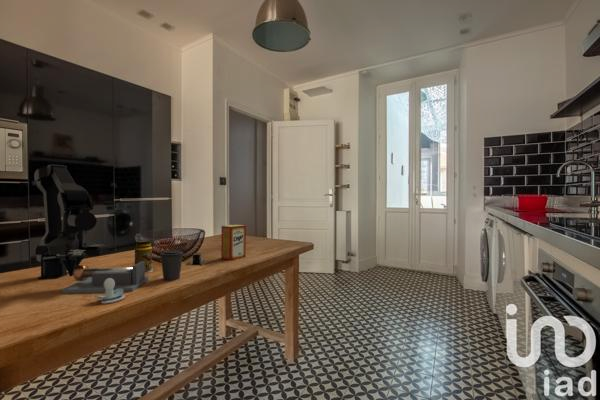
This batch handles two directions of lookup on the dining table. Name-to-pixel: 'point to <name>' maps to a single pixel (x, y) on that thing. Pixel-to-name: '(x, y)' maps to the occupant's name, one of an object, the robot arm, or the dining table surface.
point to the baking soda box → (233, 242)
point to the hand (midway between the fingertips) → (71, 276)
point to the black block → (197, 259)
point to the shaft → (95, 271)
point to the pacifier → (111, 292)
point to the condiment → (144, 254)
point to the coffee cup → (171, 264)
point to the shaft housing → (122, 279)
